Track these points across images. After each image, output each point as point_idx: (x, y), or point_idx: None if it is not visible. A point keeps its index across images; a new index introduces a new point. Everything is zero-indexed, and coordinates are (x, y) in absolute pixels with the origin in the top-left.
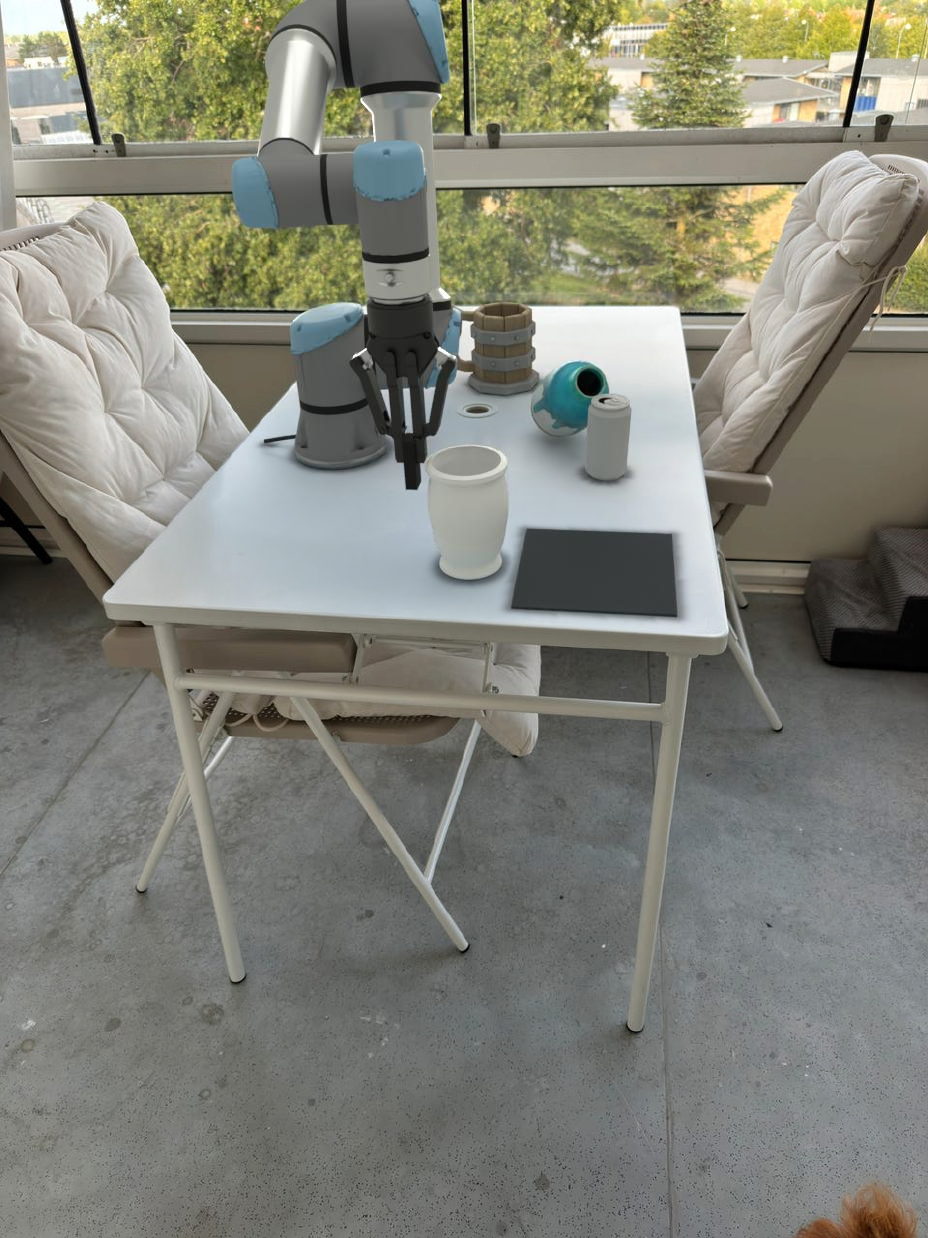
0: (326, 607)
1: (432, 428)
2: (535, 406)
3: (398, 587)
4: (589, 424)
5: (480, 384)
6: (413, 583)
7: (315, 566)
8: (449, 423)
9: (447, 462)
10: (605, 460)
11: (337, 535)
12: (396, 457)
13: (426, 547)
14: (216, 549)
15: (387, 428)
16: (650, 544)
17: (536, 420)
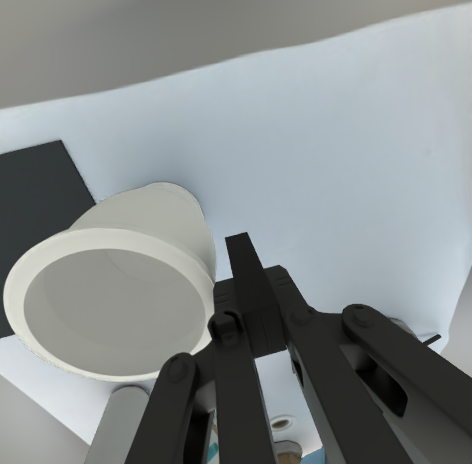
0: (294, 60)
1: (173, 383)
2: (214, 452)
3: (224, 142)
4: (125, 455)
5: (289, 449)
6: (211, 157)
7: (337, 155)
8: (294, 404)
9: (200, 322)
10: (114, 410)
11: (332, 223)
12: (284, 272)
13: (231, 234)
14: (455, 152)
15: (347, 332)
16: (1, 316)
17: (214, 433)
